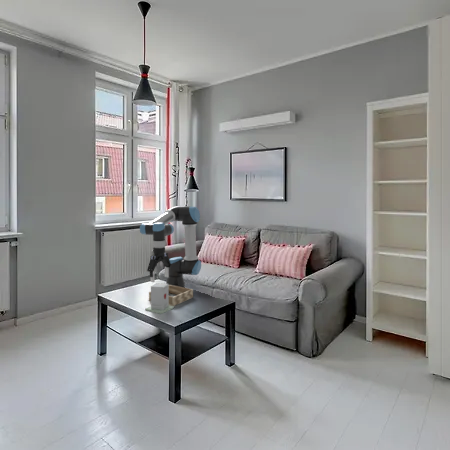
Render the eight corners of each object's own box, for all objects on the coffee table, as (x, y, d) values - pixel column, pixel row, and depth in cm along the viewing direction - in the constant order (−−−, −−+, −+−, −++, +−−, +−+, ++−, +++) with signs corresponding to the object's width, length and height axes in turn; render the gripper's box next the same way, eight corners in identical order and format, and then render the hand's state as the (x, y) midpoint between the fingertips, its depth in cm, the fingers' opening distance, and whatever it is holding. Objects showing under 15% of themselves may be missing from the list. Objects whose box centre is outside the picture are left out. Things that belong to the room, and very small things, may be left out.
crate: (169, 292, 260) (169, 284, 260) (193, 297, 249) (193, 289, 248) (148, 300, 241) (148, 292, 241) (173, 306, 230) (173, 297, 230)
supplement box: (163, 310, 219) (163, 287, 218) (150, 309, 221) (150, 286, 220) (169, 305, 228) (168, 283, 227) (156, 304, 230) (156, 282, 229)
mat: (159, 304, 233) (159, 303, 233) (174, 307, 227) (174, 306, 227) (145, 310, 222) (145, 308, 222) (160, 314, 216) (160, 312, 216)
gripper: (167, 243, 233) (167, 274, 235) (140, 249, 212) (141, 283, 214) (176, 244, 229) (176, 275, 232) (149, 250, 208) (150, 285, 210)
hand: (159, 279), depth 223 cm, fingers open, 13 cm apart
